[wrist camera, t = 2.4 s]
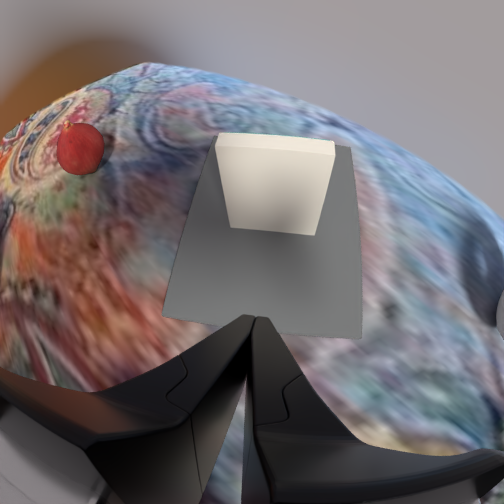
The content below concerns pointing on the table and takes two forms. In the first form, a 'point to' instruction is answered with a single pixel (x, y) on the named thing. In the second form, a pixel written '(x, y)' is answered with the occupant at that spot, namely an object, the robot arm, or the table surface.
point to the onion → (79, 148)
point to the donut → (500, 315)
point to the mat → (271, 263)
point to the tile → (274, 180)
